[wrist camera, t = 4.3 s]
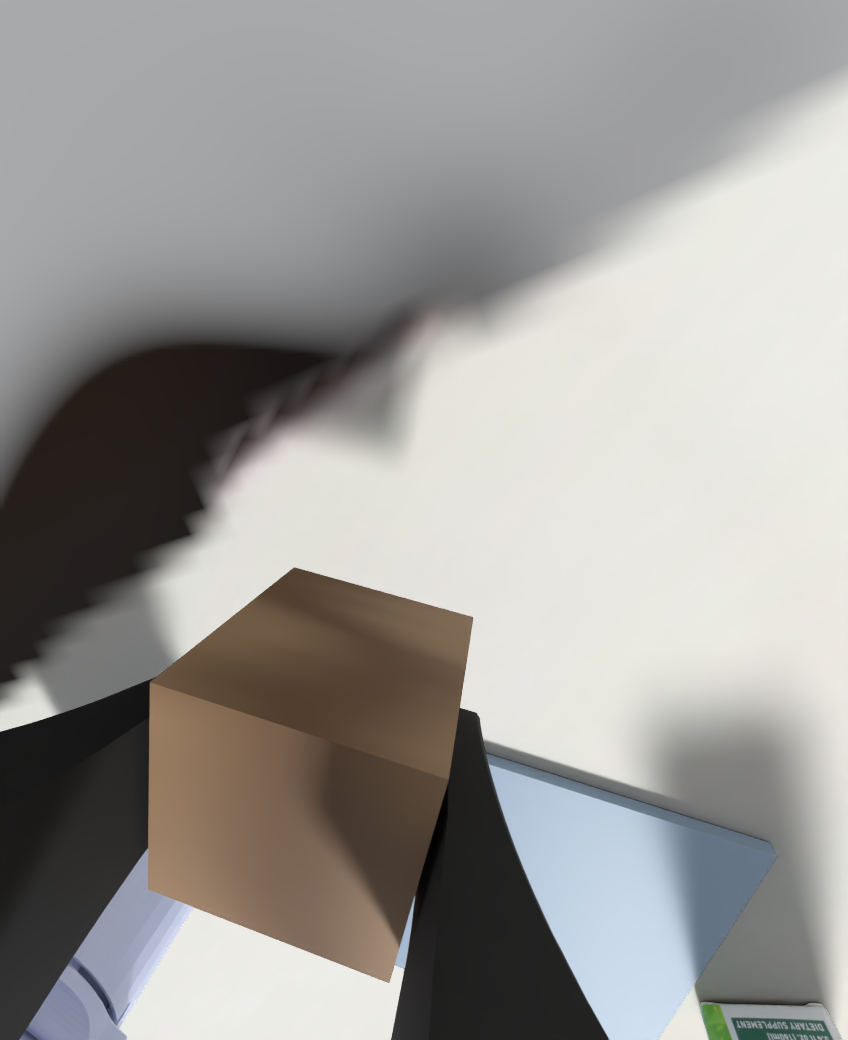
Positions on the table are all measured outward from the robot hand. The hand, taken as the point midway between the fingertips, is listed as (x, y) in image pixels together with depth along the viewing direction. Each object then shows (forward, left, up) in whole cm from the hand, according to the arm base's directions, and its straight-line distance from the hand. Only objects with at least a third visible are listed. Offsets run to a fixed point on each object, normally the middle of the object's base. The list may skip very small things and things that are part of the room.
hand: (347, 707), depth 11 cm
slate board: (+10, -16, -8) cm, 21 cm away
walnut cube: (0, 0, -2) cm, 2 cm away
